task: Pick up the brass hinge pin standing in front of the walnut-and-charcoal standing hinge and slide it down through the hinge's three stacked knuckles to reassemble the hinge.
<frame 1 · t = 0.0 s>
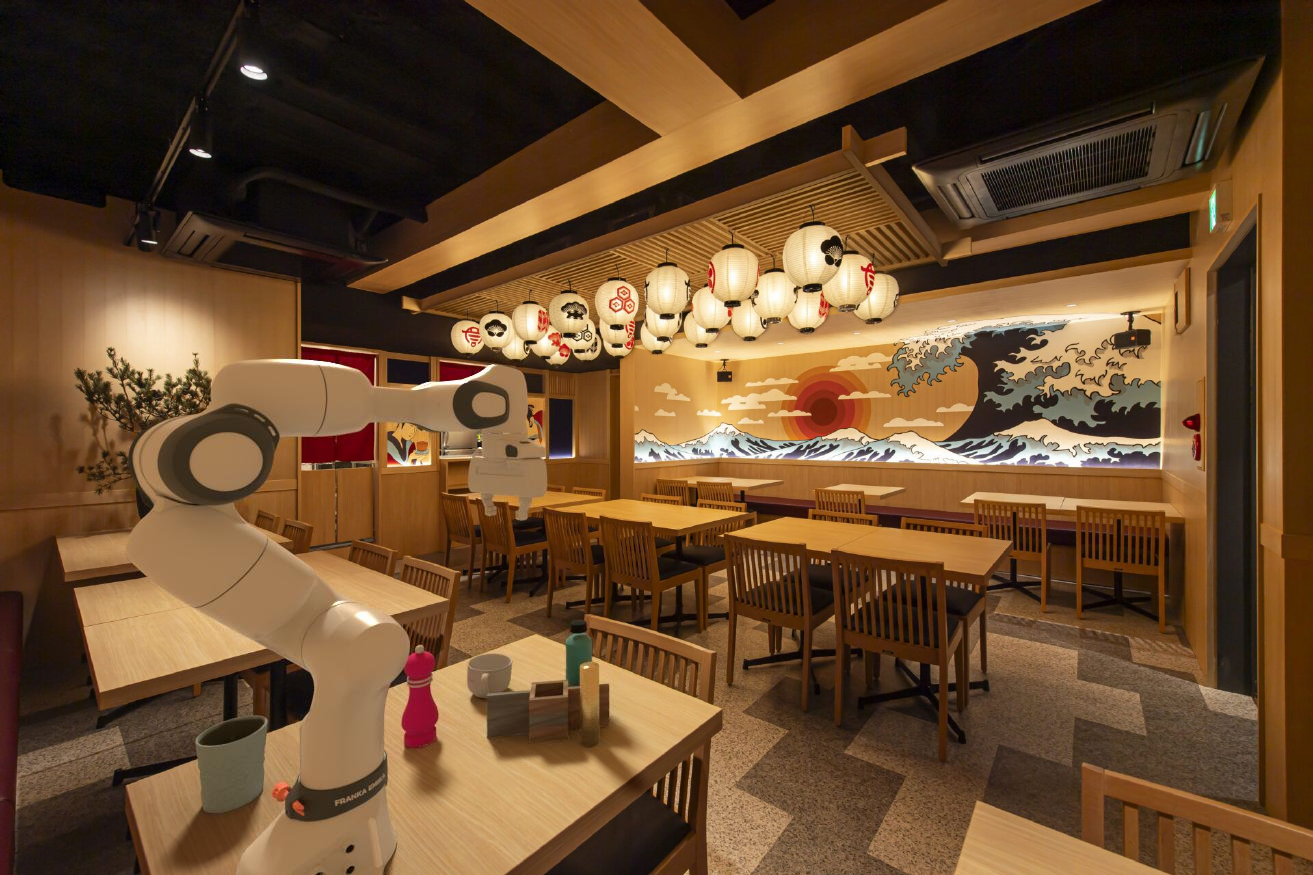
hand: (505, 517, 105), 48 cm above the table, fingers open, 8 cm apart
green oval vase: (233, 797, 95), on the table
pepper mill: (420, 740, 112), on the table
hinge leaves: (549, 730, 115), on the table
beverage bottle: (579, 706, 125), on the table
teacup: (487, 696, 130), on the table
brass pin: (589, 741, 111), on the table
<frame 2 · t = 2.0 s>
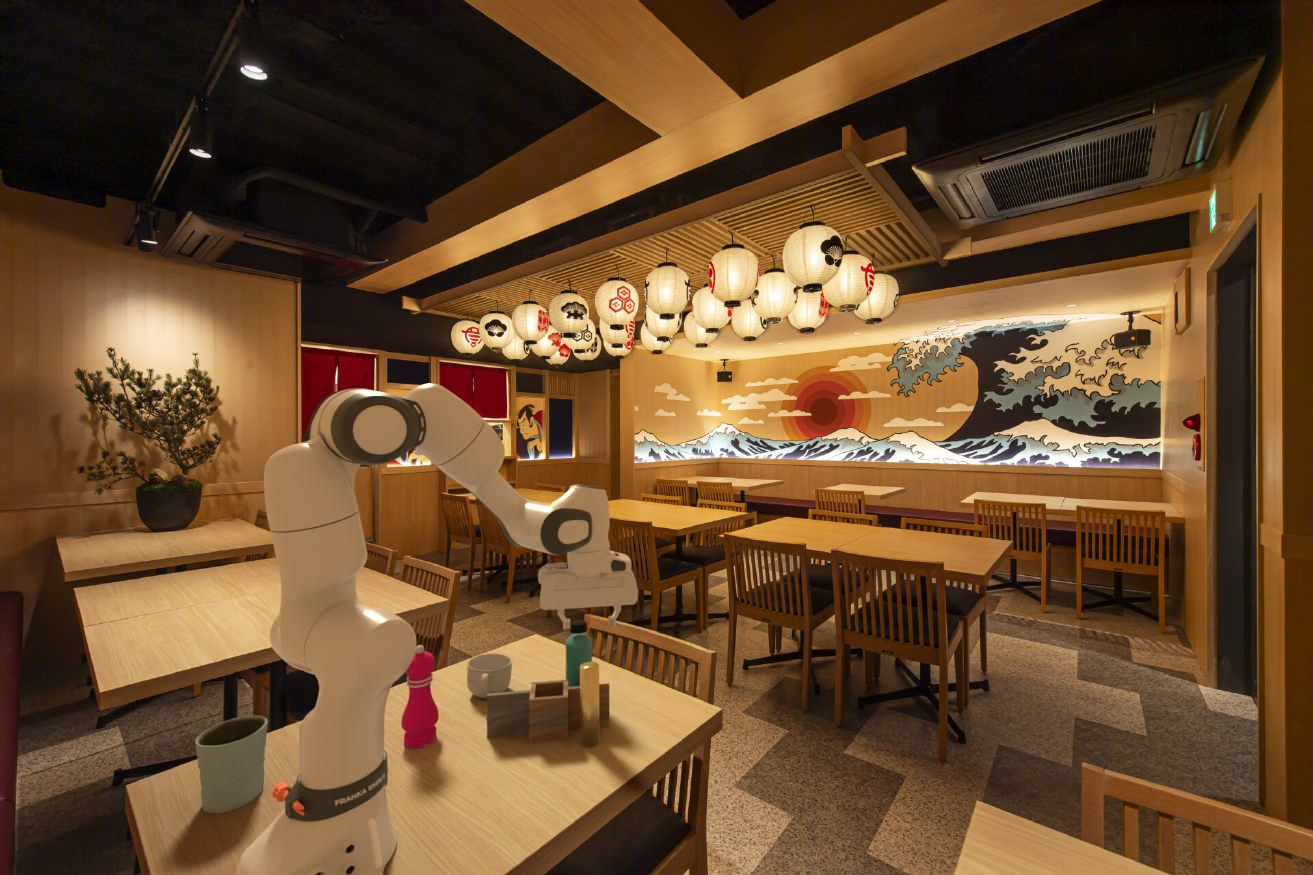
hand: (589, 627, 110), 24 cm above the table, fingers open, 8 cm apart
nothing on the table moved.
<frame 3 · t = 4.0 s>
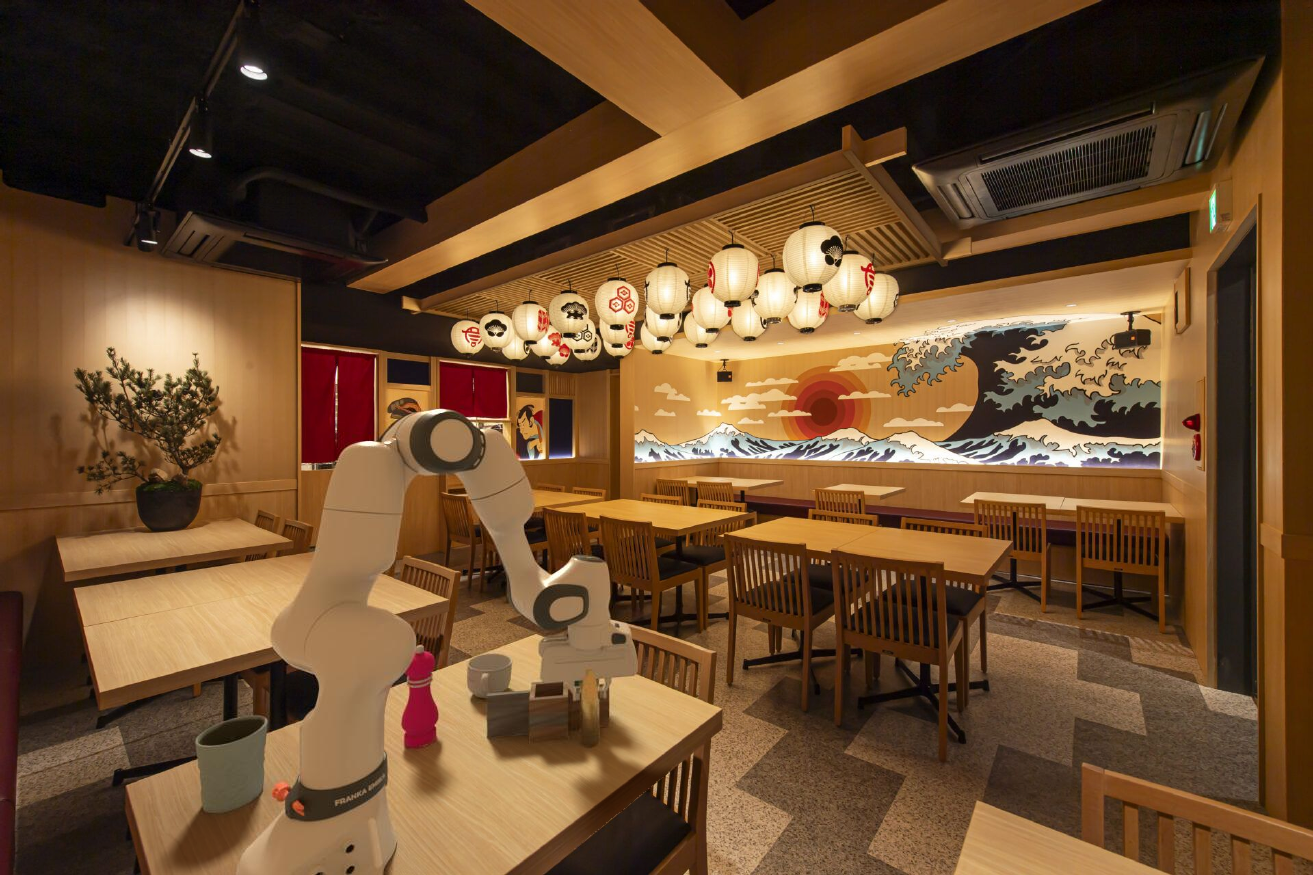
hand: (589, 698, 111), 9 cm above the table, fingers closed on brass pin, 4 cm apart
brass pin: (589, 741, 111), on the table, touching gripper
everything else where it was.
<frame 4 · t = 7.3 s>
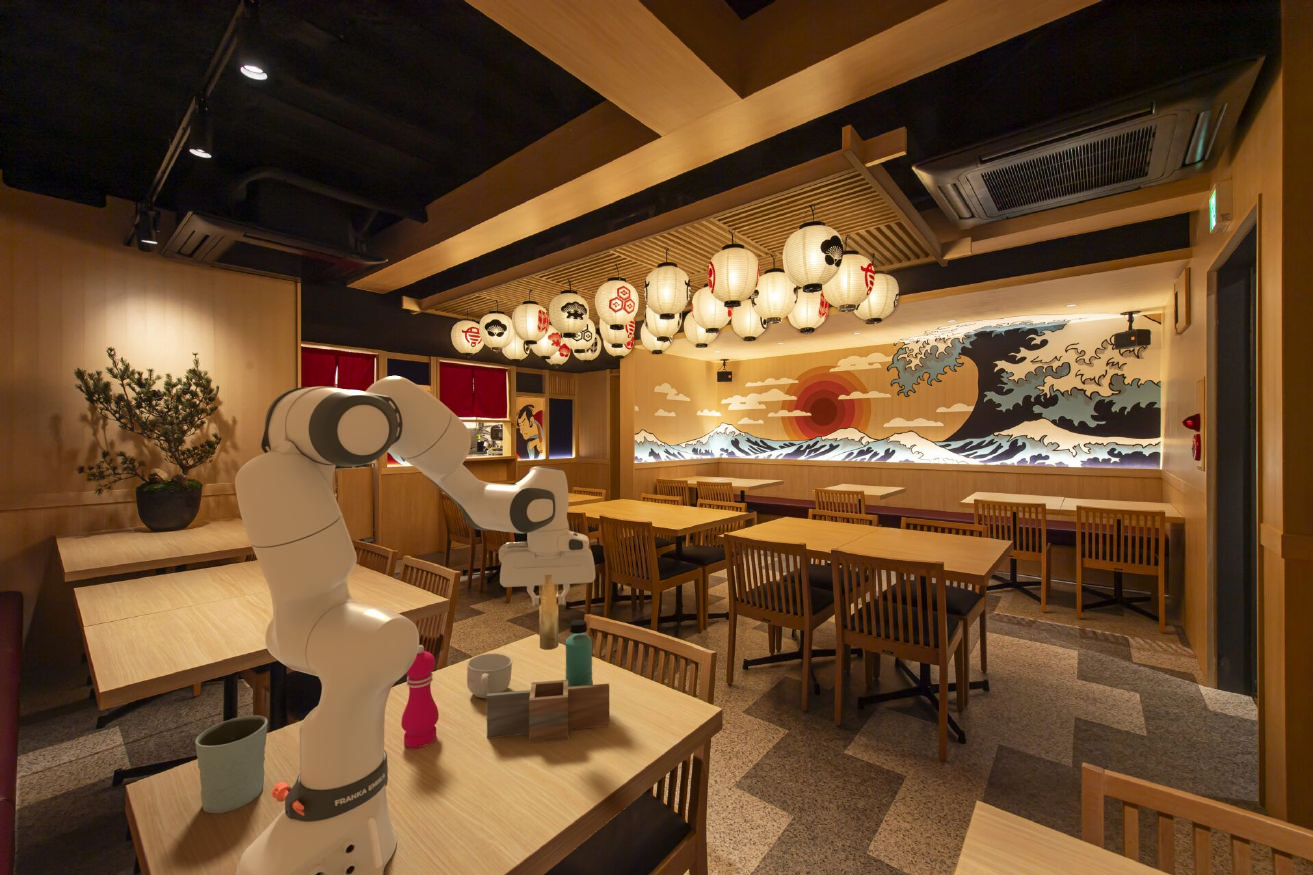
hand: (548, 604, 115), 28 cm above the table, fingers closed on brass pin, 4 cm apart
brass pin: (549, 645, 115), point 18 cm above the table, touching gripper
everything else where it was.
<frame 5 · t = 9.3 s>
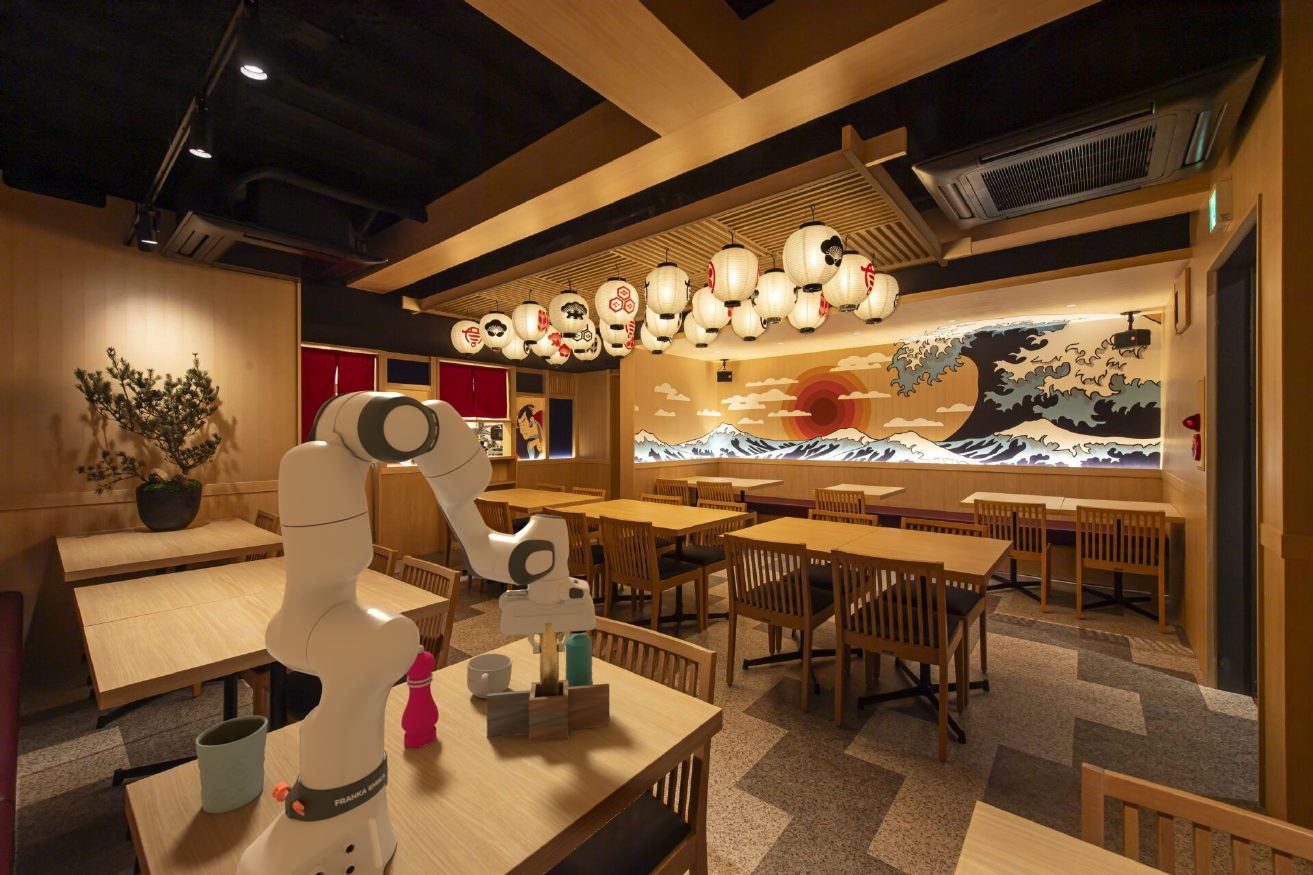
hand: (549, 651, 115), 17 cm above the table, fingers closed on brass pin, 4 cm apart
brass pin: (549, 693, 115), point 8 cm above the table, touching gripper
everything else where it was.
when the fingers open (11 cm above the table, at t = 10.9 s): brass pin drops 2 cm, resting in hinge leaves.
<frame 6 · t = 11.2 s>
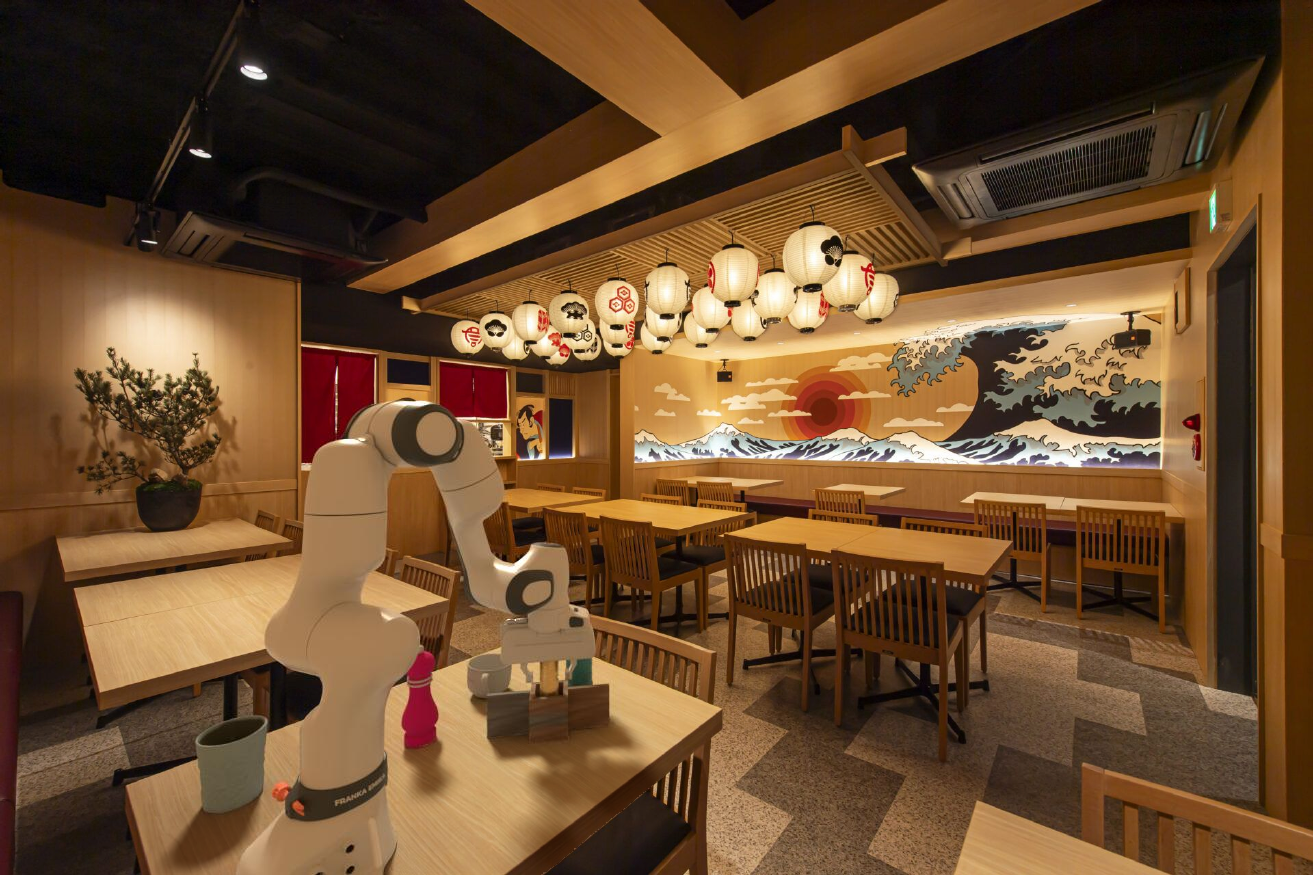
hand: (549, 679, 115), 11 cm above the table, fingers open, 7 cm apart
brass pin: (549, 730, 115), resting in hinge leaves
everything else where it was.
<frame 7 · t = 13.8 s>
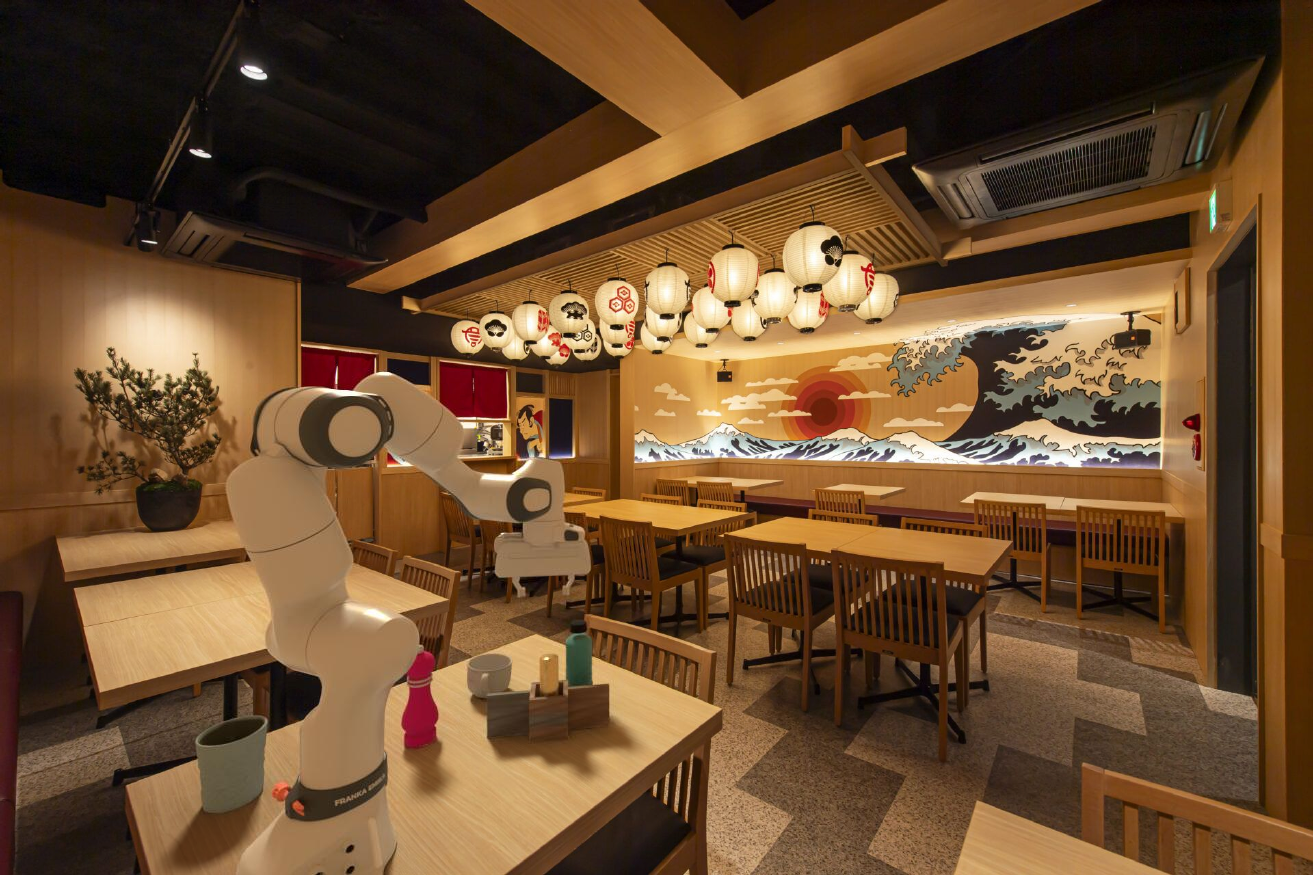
hand: (543, 595, 114), 30 cm above the table, fingers open, 8 cm apart
nothing on the table moved.
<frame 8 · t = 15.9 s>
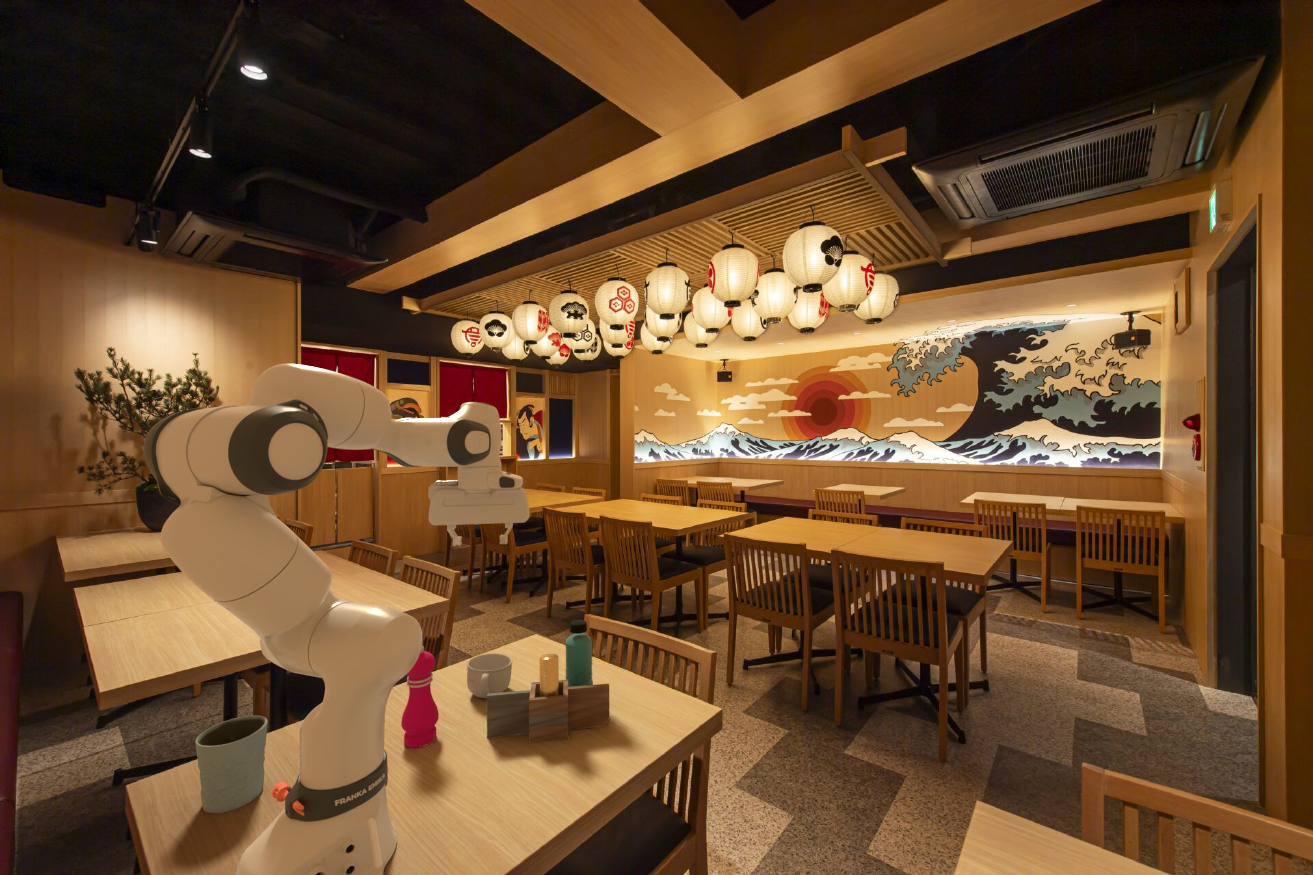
hand: (480, 544, 112), 41 cm above the table, fingers open, 8 cm apart
nothing on the table moved.
at the end: brass pin 0.0 cm off-centre on the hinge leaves, point 0.0 cm above the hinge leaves's base; brass pin tilted 0°; the gripper is holding nothing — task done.
